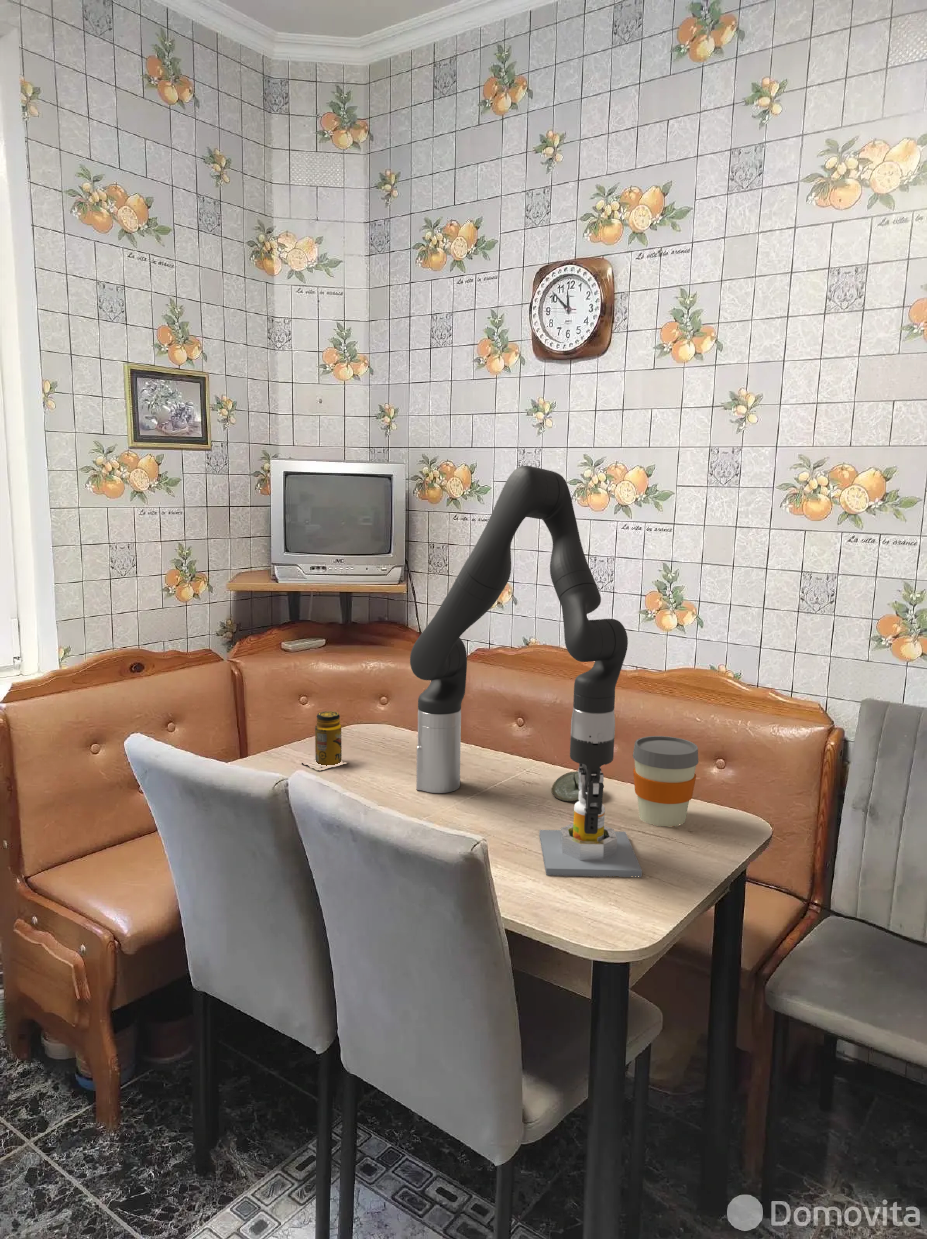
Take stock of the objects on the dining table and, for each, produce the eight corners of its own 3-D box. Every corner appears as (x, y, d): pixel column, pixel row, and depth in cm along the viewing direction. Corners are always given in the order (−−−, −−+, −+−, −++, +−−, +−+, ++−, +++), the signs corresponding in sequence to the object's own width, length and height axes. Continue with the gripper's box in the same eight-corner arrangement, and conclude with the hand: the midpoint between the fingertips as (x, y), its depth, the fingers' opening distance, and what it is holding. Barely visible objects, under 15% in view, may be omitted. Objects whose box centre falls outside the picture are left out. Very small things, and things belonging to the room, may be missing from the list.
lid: (609, 797, 177) (610, 774, 176) (578, 808, 171) (579, 784, 170) (572, 783, 185) (572, 761, 184) (540, 793, 179) (541, 771, 178)
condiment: (349, 764, 195) (348, 714, 194) (318, 772, 190) (318, 720, 188) (331, 756, 201) (330, 707, 199) (300, 764, 195) (299, 714, 193)
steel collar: (563, 860, 144) (564, 843, 144) (558, 837, 153) (559, 821, 153) (619, 861, 144) (620, 844, 143) (610, 838, 153) (611, 822, 153)
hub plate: (546, 875, 141) (546, 868, 141) (539, 835, 157) (539, 829, 157) (641, 877, 141) (642, 870, 141) (625, 837, 157) (625, 831, 156)
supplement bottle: (569, 838, 151) (571, 786, 150) (598, 837, 152) (601, 786, 150) (576, 851, 146) (578, 798, 144) (606, 850, 146) (609, 797, 145)
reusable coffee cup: (617, 811, 170) (620, 739, 167) (668, 802, 175) (672, 732, 172) (654, 834, 158) (658, 758, 156) (708, 825, 163) (713, 750, 161)
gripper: (566, 721, 153) (563, 809, 155) (575, 745, 138) (571, 842, 141) (607, 722, 152) (603, 810, 155) (621, 746, 138) (616, 843, 141)
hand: (588, 825), depth 148 cm, fingers closed on supplement bottle, 5 cm apart
